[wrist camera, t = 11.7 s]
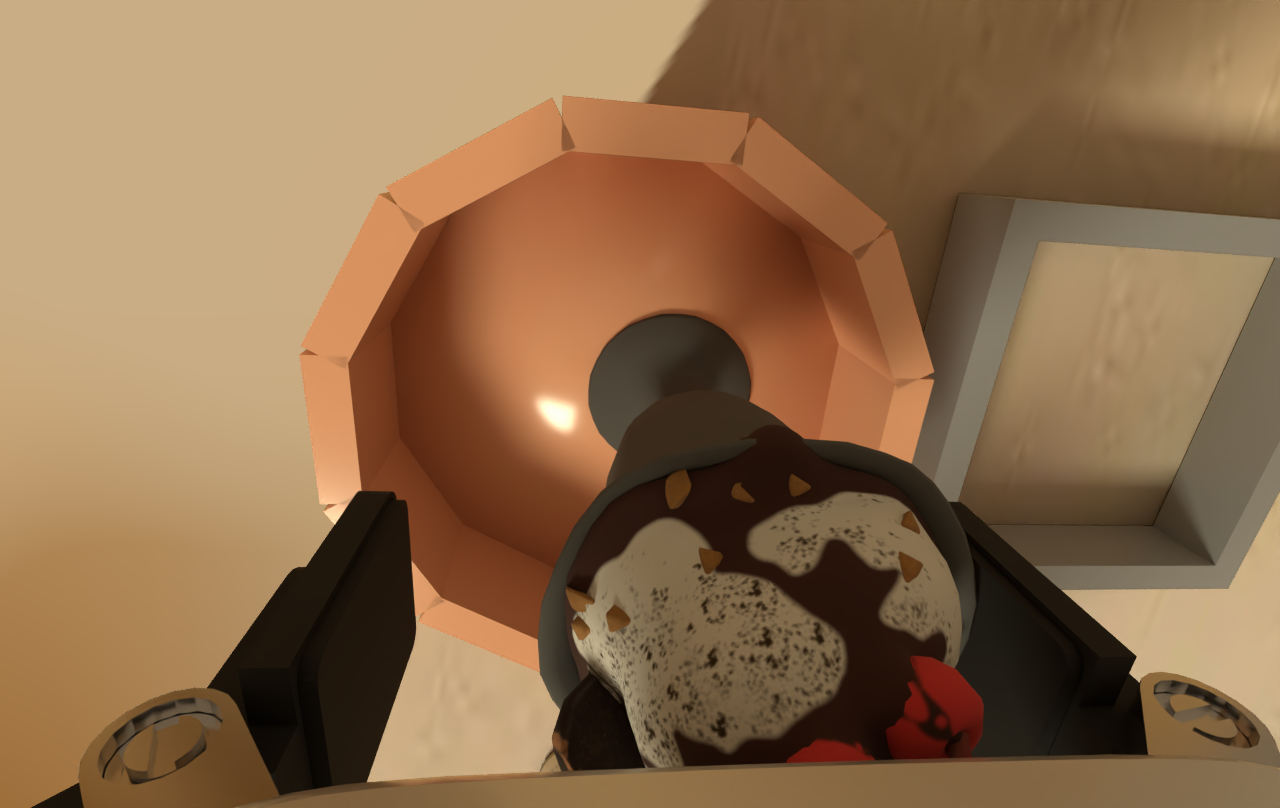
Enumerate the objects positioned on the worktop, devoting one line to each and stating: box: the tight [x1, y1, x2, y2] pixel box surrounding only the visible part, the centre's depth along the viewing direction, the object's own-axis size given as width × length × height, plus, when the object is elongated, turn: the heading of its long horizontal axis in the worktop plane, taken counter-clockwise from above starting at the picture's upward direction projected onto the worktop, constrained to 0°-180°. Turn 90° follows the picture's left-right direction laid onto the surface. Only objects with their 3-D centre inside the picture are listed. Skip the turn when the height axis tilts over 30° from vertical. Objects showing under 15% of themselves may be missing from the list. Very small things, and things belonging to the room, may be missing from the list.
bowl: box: [300, 96, 934, 672], centre depth 17 cm, size 15×15×4 cm
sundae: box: [538, 314, 984, 771], centre depth 11 cm, size 7×7×15 cm
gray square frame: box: [912, 193, 1280, 590], centre depth 20 cm, size 12×12×2 cm
